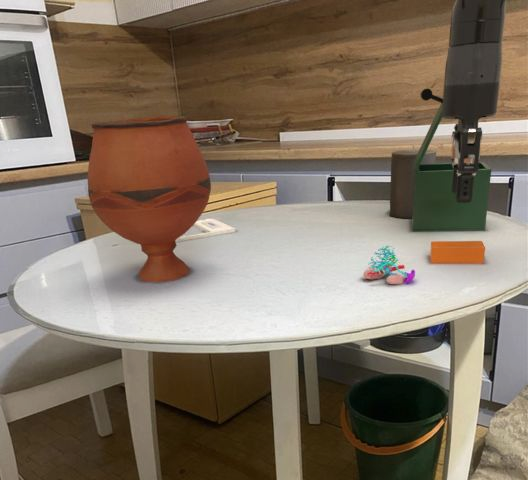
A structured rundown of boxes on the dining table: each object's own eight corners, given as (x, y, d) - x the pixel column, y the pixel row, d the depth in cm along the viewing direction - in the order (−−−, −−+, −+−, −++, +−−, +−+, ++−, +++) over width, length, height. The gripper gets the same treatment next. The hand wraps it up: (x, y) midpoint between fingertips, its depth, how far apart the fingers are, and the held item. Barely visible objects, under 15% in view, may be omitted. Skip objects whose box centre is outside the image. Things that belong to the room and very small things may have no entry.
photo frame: (235, 227, 117) (155, 241, 110) (235, 232, 118) (156, 246, 111) (211, 217, 129) (138, 229, 123) (212, 222, 130) (139, 233, 123)
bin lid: (450, 91, 105) (425, 81, 105) (454, 91, 95) (427, 80, 95) (416, 163, 112) (393, 153, 112) (416, 170, 102) (391, 160, 102)
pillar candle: (382, 217, 123) (383, 147, 116) (400, 209, 130) (402, 143, 123) (422, 220, 117) (427, 147, 111) (439, 211, 124) (444, 142, 118)
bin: (477, 219, 114) (483, 161, 109) (484, 232, 104) (491, 169, 99) (411, 220, 117) (414, 164, 112) (412, 233, 107) (415, 172, 102)
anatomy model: (386, 263, 74) (421, 248, 77) (348, 253, 80) (382, 239, 83) (388, 297, 76) (422, 281, 79) (352, 285, 83) (384, 270, 85)
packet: (429, 258, 90) (431, 241, 89) (480, 258, 88) (482, 240, 87) (430, 265, 87) (432, 247, 86) (483, 265, 85) (485, 247, 84)
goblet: (93, 299, 83) (56, 125, 72) (121, 264, 100) (94, 120, 89) (216, 290, 83) (197, 115, 72) (222, 257, 100) (207, 112, 89)
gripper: (508, 78, 69) (492, 205, 76) (492, 80, 82) (481, 189, 89) (447, 82, 71) (437, 206, 78) (441, 83, 83) (433, 190, 90)
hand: (460, 197), depth 83 cm, fingers open, 8 cm apart
